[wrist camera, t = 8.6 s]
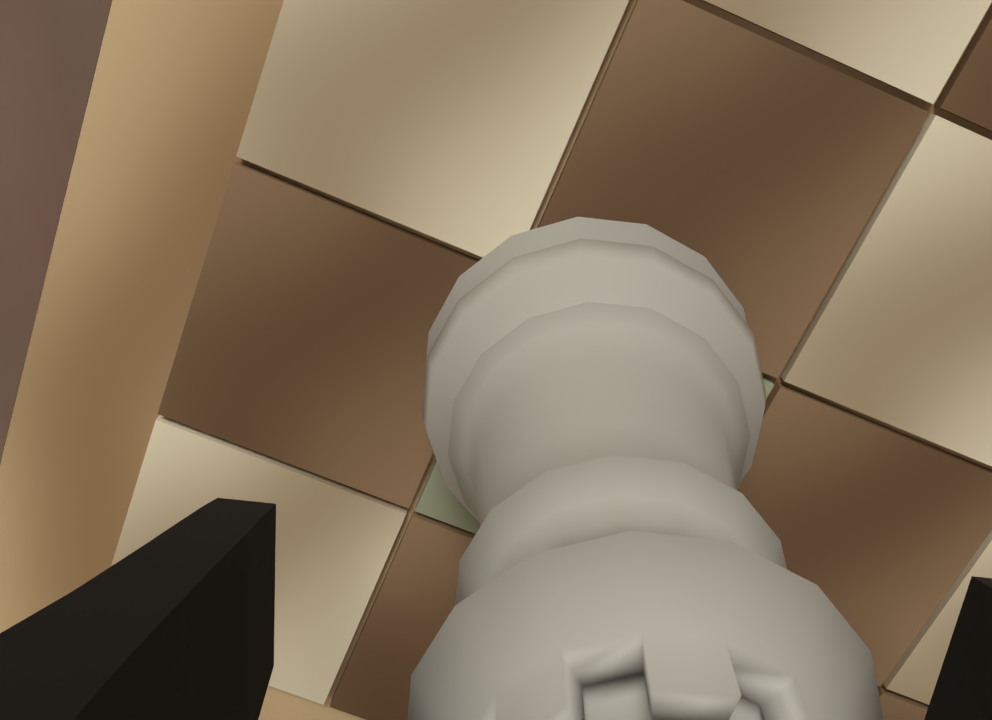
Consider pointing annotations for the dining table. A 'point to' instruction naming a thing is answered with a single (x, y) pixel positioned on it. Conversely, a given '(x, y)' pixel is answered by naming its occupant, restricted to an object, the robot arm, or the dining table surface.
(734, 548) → the rook chess piece
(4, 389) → the dining table surface
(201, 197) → the chessboard
